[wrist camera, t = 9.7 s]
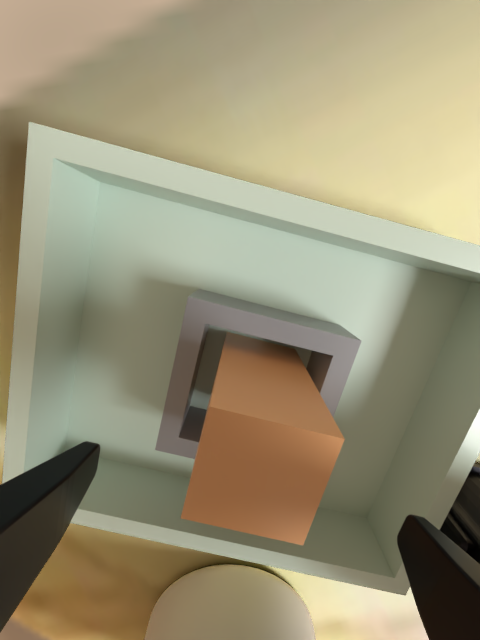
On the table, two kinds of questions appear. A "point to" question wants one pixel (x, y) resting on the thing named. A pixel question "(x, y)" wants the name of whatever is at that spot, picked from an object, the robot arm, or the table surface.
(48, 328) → the walled crate
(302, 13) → the table surface
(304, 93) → the table surface
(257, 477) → the tan rectangular prism
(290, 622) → the cylinder vase
